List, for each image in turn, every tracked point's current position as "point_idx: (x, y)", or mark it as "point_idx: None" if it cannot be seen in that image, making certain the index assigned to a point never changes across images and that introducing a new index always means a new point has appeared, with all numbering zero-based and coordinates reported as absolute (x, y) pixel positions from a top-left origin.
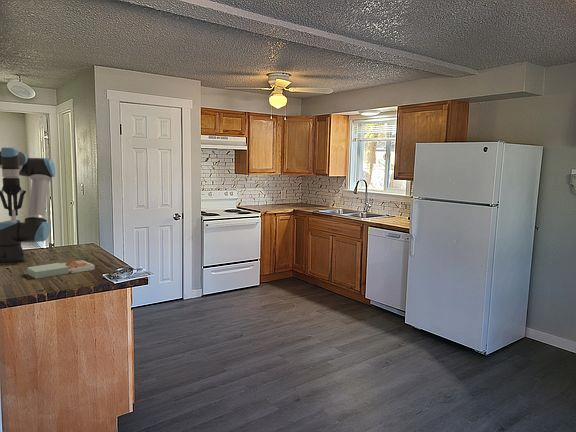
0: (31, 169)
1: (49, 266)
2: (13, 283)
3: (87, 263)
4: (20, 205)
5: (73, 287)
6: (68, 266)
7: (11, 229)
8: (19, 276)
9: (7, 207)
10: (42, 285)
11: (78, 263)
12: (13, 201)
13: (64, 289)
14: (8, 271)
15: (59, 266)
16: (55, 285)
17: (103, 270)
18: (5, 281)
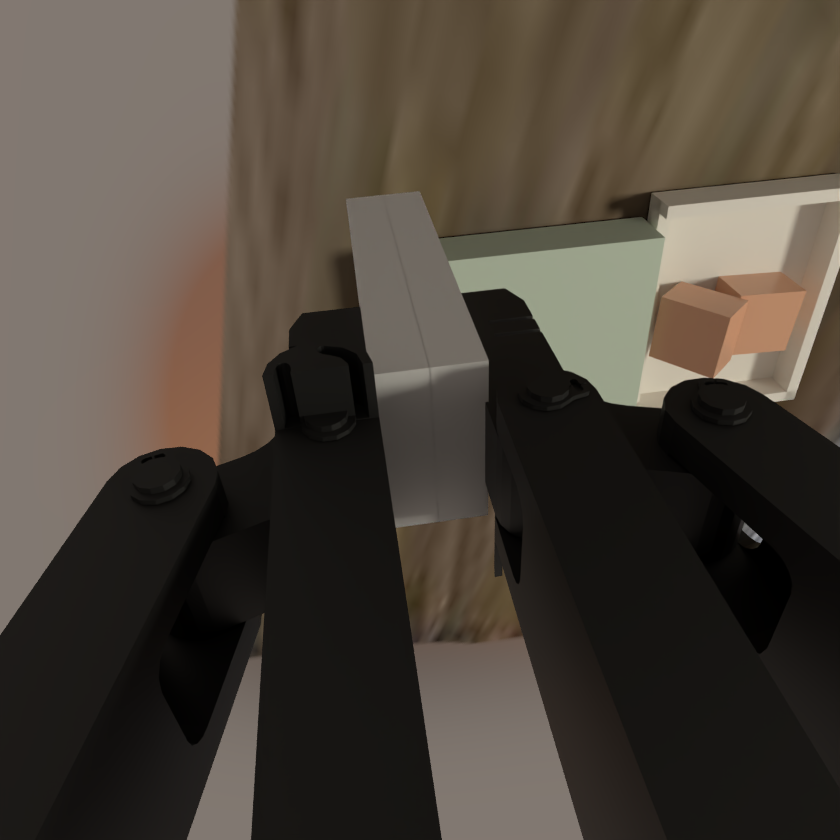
0: None
1: (546, 331)
2: (270, 433)
3: (811, 311)
4: (730, 608)
5: (501, 616)
6: (656, 357)
7: None
8: (330, 274)
9: (238, 638)
10: (400, 537)
11: (737, 351)
12: (605, 715)
13: (459, 625)
14: (272, 4)
15: (597, 369)
16: (451, 562)
17: (795, 414)
18: (228, 362)
